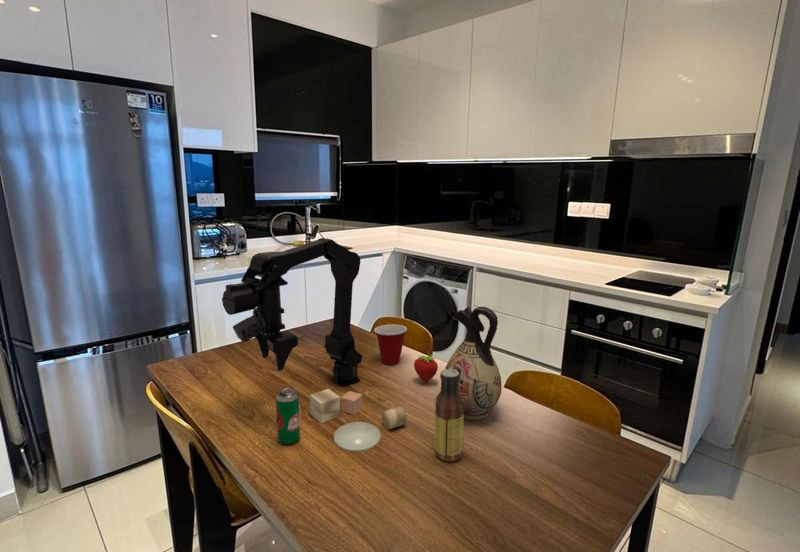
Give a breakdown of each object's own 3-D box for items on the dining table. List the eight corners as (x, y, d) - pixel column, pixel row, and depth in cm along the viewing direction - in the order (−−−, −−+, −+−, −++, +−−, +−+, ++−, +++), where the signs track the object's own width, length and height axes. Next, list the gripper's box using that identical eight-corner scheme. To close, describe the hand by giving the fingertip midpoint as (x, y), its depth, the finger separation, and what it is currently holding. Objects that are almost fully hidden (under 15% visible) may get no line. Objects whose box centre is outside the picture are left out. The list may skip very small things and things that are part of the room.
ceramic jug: (428, 411, 113) (433, 303, 106) (462, 391, 124) (468, 292, 117) (484, 438, 102) (493, 319, 95) (515, 413, 113) (525, 305, 106)
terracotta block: (349, 404, 116) (349, 390, 115) (362, 407, 114) (362, 394, 113) (341, 411, 112) (341, 397, 111) (354, 415, 110) (354, 401, 110)
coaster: (362, 418, 109) (362, 417, 108) (389, 439, 100) (389, 437, 100) (325, 434, 102) (325, 432, 101) (351, 457, 93) (351, 455, 93)
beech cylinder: (380, 421, 107) (396, 416, 109) (389, 433, 104) (404, 428, 106) (383, 407, 105) (398, 403, 107) (391, 419, 102) (407, 414, 104)
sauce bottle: (464, 449, 97) (470, 369, 93) (459, 466, 92) (464, 381, 87) (436, 443, 99) (440, 364, 95) (429, 459, 94) (433, 376, 89)
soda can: (292, 448, 96) (290, 400, 93) (273, 443, 98) (271, 395, 95) (304, 436, 101) (303, 389, 98) (286, 431, 102) (284, 385, 100)
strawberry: (418, 375, 133) (419, 345, 131) (440, 381, 130) (442, 351, 127) (409, 383, 128) (410, 352, 126) (432, 389, 125) (433, 357, 122)
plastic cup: (388, 352, 150) (388, 320, 147) (412, 361, 144) (413, 327, 141) (367, 362, 142) (367, 328, 139) (392, 371, 135) (392, 336, 133)
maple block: (328, 407, 114) (328, 388, 112) (339, 416, 110) (339, 396, 108) (310, 414, 110) (309, 395, 109) (321, 423, 106) (320, 403, 105)
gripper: (222, 301, 106) (227, 359, 110) (250, 322, 92) (255, 387, 96) (265, 294, 113) (269, 348, 117) (297, 312, 99) (300, 373, 103)
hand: (272, 363), depth 108 cm, fingers open, 9 cm apart
